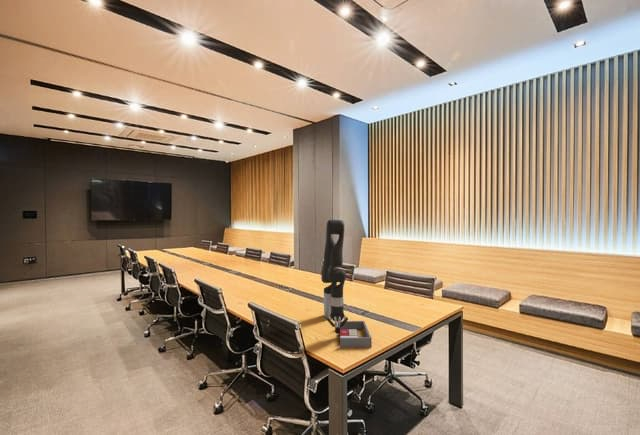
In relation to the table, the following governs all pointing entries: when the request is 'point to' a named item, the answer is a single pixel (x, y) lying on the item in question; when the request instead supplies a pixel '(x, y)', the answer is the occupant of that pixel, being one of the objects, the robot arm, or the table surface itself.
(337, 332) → the robot arm
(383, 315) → the table surface
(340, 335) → the calculator
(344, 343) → the box
